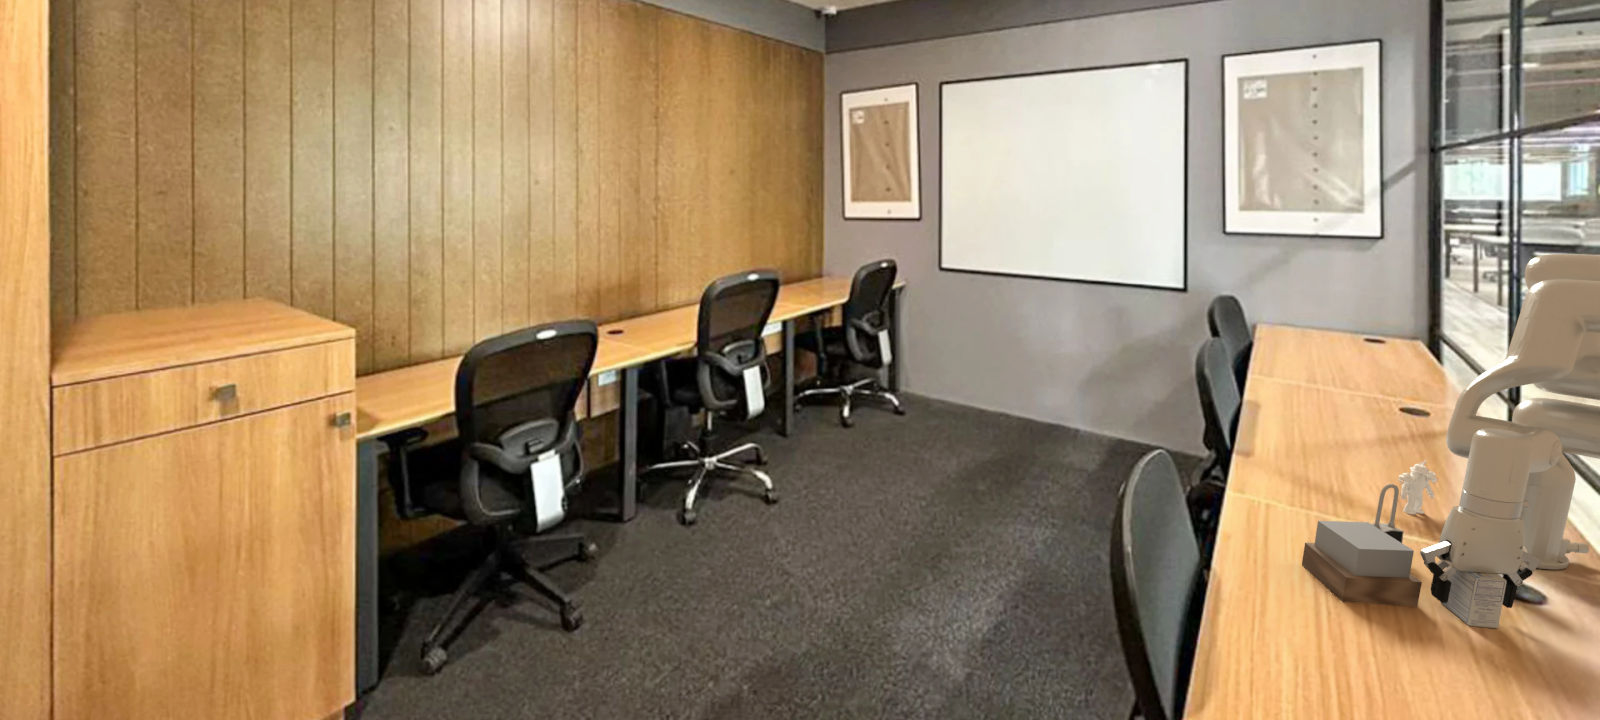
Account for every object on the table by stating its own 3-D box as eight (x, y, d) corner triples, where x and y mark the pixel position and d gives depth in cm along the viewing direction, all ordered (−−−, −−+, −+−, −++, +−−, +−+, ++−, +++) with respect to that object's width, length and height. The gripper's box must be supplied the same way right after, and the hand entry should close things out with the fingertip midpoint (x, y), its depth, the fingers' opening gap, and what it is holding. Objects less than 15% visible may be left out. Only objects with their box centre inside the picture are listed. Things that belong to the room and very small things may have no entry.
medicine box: (1498, 629, 127) (1509, 580, 125) (1467, 626, 128) (1477, 577, 126) (1468, 605, 135) (1477, 558, 133) (1438, 602, 136) (1447, 556, 134)
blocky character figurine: (1420, 507, 178) (1429, 457, 176) (1437, 513, 175) (1447, 462, 172) (1388, 510, 176) (1397, 459, 174) (1404, 516, 173) (1413, 465, 170)
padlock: (1373, 562, 150) (1386, 489, 147) (1354, 553, 154) (1366, 481, 151) (1402, 560, 152) (1416, 486, 149) (1383, 550, 156) (1395, 479, 153)
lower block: (1369, 571, 148) (1373, 546, 147) (1416, 609, 134) (1421, 582, 133) (1301, 566, 149) (1305, 542, 148) (1341, 604, 136) (1346, 577, 135)
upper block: (1363, 547, 146) (1368, 522, 145) (1409, 577, 135) (1413, 550, 134) (1314, 545, 147) (1318, 520, 146) (1354, 575, 135) (1359, 548, 134)
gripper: (1531, 499, 130) (1511, 594, 133) (1417, 493, 132) (1400, 586, 136) (1568, 517, 123) (1546, 617, 126) (1447, 510, 125) (1428, 608, 128)
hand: (1470, 601), depth 131 cm, fingers open, 9 cm apart
